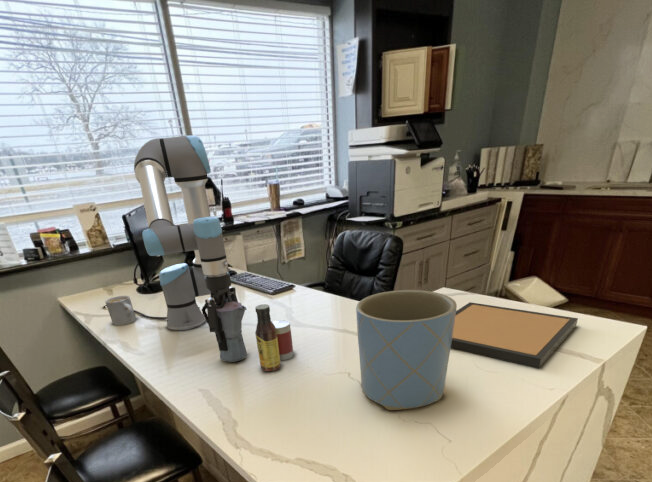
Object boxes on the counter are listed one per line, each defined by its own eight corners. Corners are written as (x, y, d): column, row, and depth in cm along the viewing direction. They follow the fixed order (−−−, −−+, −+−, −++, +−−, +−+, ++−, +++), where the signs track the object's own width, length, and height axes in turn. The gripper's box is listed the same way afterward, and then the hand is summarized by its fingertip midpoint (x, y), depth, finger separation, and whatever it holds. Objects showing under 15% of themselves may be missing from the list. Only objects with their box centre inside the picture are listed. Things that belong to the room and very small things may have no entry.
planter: (466, 401, 100) (478, 309, 88) (381, 423, 96) (382, 329, 83) (418, 364, 119) (423, 284, 107) (345, 381, 115) (342, 299, 102)
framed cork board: (538, 368, 111) (575, 326, 132) (541, 358, 109) (578, 318, 130) (421, 341, 133) (468, 309, 154) (421, 333, 131) (469, 302, 152)
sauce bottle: (261, 364, 129) (251, 303, 119) (280, 362, 129) (272, 301, 119) (261, 374, 123) (250, 310, 113) (281, 371, 123) (273, 308, 113)
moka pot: (250, 363, 129) (239, 301, 119) (205, 363, 132) (191, 302, 122) (259, 350, 137) (249, 292, 127) (216, 350, 140) (204, 293, 130)
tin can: (269, 359, 132) (264, 327, 126) (278, 350, 137) (273, 319, 131) (288, 361, 129) (284, 328, 124) (296, 352, 135) (293, 320, 129)
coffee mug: (109, 322, 181) (101, 300, 175) (131, 315, 186) (124, 294, 181) (121, 328, 172) (113, 305, 167) (143, 321, 177) (136, 299, 172)
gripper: (207, 284, 111) (223, 359, 123) (244, 265, 128) (255, 333, 139) (185, 283, 114) (203, 357, 126) (224, 265, 130) (236, 332, 142)
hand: (230, 344), depth 133 cm, fingers closed on moka pot, 8 cm apart
